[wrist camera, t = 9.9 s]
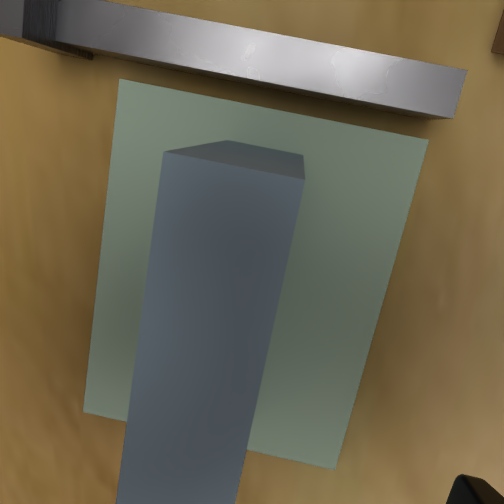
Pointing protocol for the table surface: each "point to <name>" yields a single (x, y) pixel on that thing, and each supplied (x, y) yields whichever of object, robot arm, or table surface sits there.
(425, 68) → the rack
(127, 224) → the mat
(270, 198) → the grey panel
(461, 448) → the table surface
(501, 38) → the offcut pile
